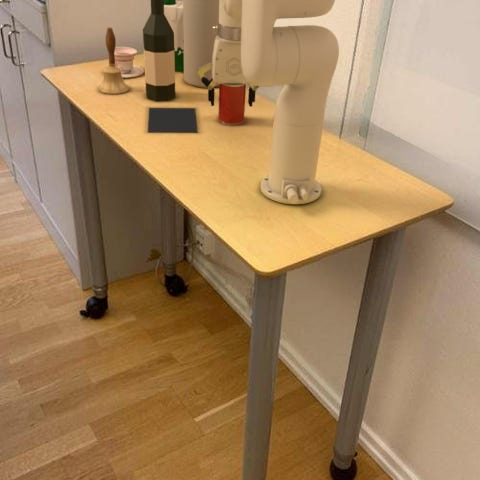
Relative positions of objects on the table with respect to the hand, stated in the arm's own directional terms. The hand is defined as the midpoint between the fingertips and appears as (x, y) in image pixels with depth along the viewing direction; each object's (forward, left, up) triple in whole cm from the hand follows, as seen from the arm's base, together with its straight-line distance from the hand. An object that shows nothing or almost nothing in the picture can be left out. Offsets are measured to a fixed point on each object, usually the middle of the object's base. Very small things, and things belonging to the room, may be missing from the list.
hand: (231, 104), depth 147 cm
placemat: (0, +15, -4) cm, 15 cm away
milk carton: (+42, +13, -4) cm, 44 cm away
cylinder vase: (+30, +5, -4) cm, 30 cm away
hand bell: (+22, +31, -4) cm, 38 cm away
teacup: (+37, +29, -4) cm, 47 cm away
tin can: (0, 0, -4) cm, 4 cm away
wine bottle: (+17, +18, -4) cm, 25 cm away
